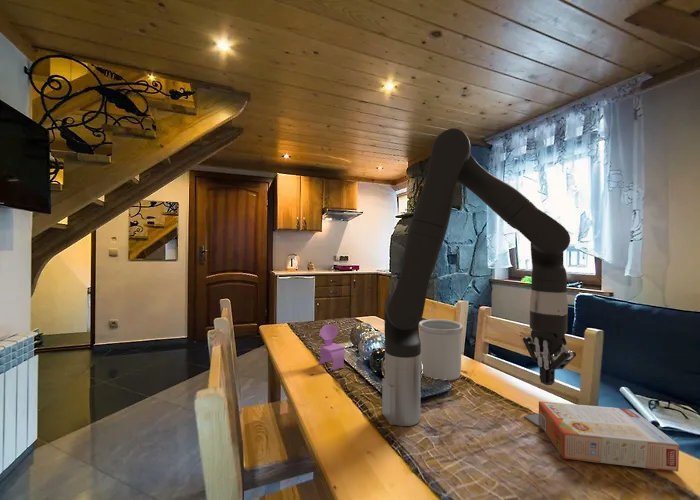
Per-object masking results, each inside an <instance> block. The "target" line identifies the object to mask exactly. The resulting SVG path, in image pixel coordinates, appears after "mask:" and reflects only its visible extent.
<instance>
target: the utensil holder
mask: <svg viewBox="0 0 700 500" xmlns="http://www.w3.org/2000/svg"><path fill="white" fill-rule="evenodd" d="M463 328H464V326H463V324H462V323H461V322H458V321H455V320H454V321H453V320H451V319H450V320H449V319H442V318H441V319H440V318H431V319H423V320H420V322H419V336H420V342H421V361H422V364H423V374H424V375H423V374H422V375H423V376H425V377H427V376H428V377H427V378H429V377H432V378H438V379H447V380H448V381H454V380H457V379H458V378H460V377H461V372H462V370H461V369H462V345H463V344H462V341H463V339H462V338H463V336H462V335H463V333H462V332H463V330H464V329H463ZM432 378H431V379H432Z"/></svg>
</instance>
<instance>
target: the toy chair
mask: <svg viewBox="0 0 700 500" xmlns="http://www.w3.org/2000/svg"><path fill="white" fill-rule="evenodd" d="M338 332H339V329H338V326H336V325H333V324H331V323H330V324H325V325H323V326H322V328H321V329H320V331H319V333H318V334H319V337H320V338H321V339H322V340H324V345H320V348H319V351H320V359H319V361H318V364H317V365H323V364H326V363H325V362H327V363H329V361H330V362H332V366H331V368H330V372H333V371H336V370H339V368H340V369H343V368H345V363H344V362H345V361H344V358H345V353H346V350H345V346H342V345H339V344H338V343H336V342H333V340H334V339H336V338H337V336H338ZM332 370H333V371H332Z"/></svg>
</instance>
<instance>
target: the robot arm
mask: <svg viewBox="0 0 700 500" xmlns="http://www.w3.org/2000/svg"><path fill="white" fill-rule="evenodd" d="M457 182H458V183H459V184H461V185H463V186H464V187H465V188H466V189H468V190H470V192H472V193H473V194H474V195H475V196H477V197H478V198H479V199H480V200H481V201H482V202H483V203H484V204H486V206H488V208H490V209H491V210H492V211H493V212H494V213H495V214H496V215H497V216H498V217H500V218H501V219H502V220H503V221H504V222H505V223H506V224H508V226H510V227H511V228H513V229H515V230H517V231H518V232H519V233H521V235H523V236H524V237H525V238H526V239H527V241H529V242H530V255H531V256H530V257H531V267H532V268H531V269H532V270H531V283H530V284H531V287H530V288H531V289H530V297H529V328H530V329H531V331H530V335H529V336H526V337H522V342H523V343H524V345H525V348H526V350H527V352H528V354H529V356H530V358H531V360H532V362H534V363H535V362H536V363H537V365H538V367H539V380H540V383H542V384H543V385H545V386H552V385H553V384H555V378H556V377H555V376H556V375H555V374H556V372H555V371H556V370H564V368H565V367H566V366H568V364H570V363H571V362H572V360H574V359H575V357H577V353H576V351H573V350H570V349H569V347H568V346H567V340H566V337H565V335H566V333H567V332H568V313H569V312H568V310H569V309H568V308H569V306H568V305H569V304H568V303H569V302H568V293H567V291H568V290H567V289H568V285H567V283H568V282H567V281H568V277H567V270H566V268H565V266H564V252H565V251H566V250H567V249H568V248H569V246H570V243H571V236H570V234H569V231H568V229H566V228H565V226H563V225H562V224H561V223H560V222H558V220H556V219H554V218H553V217H551V216H550V215H549V214H547V213H546V212H544V211H542V210H541V209H539V208H538V207H537V206H536V205H535V204H534V203H533V202H532V201H530V200H529V199H528V198H527V196H525V195H524V194H523V193H522V192H520V191H519V190H518V189H516V188H515V187H514V186H512V185H510V184H509V183H507V182H506V181H504V180H502V179H501V178H498V177H496V176H495V175H494V174H492V173H490V172H488V170H487V169H485V168H484V167H483V166H481V165H480V164H479V163H478V161H477V160H476V159H475V158H474V157H473V155H472V154H471V142H470V139H469V137H468V135H467V134H466V133H465V132H464V131H463V130H461V129H460V128H456V127H455V128H448V129H445V130H444V131H442V132H441V133H439V134H438V135H437V137H435V140H434V141H433V144H432V147H431V153H430V157H429V165H428V169H427V174H426V179H425V182H424V184H423V187H422V190H421V192H420V195H419V198H418V200H417V203H416V205H415V208H414V211H413V215H412V218H411V221H410V223H409V227H408V230H407V234H406V239H405V245H404V251H403V260H402V268H401V272H400V275H399V279H398V281H397V284H396V286H395V289H394V290H393V291H392V292H390V293H389V294H388V295H387V297H386V299H385V301H384V319H383V320H384V321H383V322H384V350H385V351H384V365H385V366H384V377H383V378H382V379H381V380H382V381H381V382H382V383H381V386H382V387H381V389H382V390H381V391H382V392H381V393H382V395H381V397H382V399H381V401H382V403H381V405H382V406H381V408H382V409H381V410H382V411H381V413H382V415H383V417H384V418H385V419H386V421H387V422H388V424H389V425H390V426H393V425H395V426H400V427H412V426H414V425H415V426H416V425H417V424H418V423H420V421H421V411H422V409H421V398H422V397H421V396H422V395H421V392H422V391H421V389H422V388H421V375H422V372H421V342H420V328H419V322H420V321H422V318H423V315H424V311H425V305H426V299H427V294H428V288H429V285H430V281H431V279H432V274H433V271H434V269H435V266H436V264H437V262H438V259H439V255H440V252H441V250H442V247H443V243H444V242H445V241H444V240H445V237H446V235H447V231H448V227H449V223H450V219H451V212H452V207H453V200H454V193H455V187H456V185H457Z"/></svg>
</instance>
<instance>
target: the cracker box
mask: <svg viewBox="0 0 700 500" xmlns="http://www.w3.org/2000/svg"><path fill="white" fill-rule="evenodd" d="M538 414H539V424H540V425H541V427H542V428H543V432H545V434H546V435H547V436H548V438H549V439H550V441H551V442H552V444H553V445H554V447H555V448H556V449H557V451H558V452H559V455H561V457H562V458H563V459H567V460H574V461H583V462H590V463H598V464H599V463H601V464H608V465H617V466H625V467H634V468H642V469H643V468H644V469H653V470H661V471H669V472H678V473H679V466H680V465H679V461H680V458H679V457H680V444H679V443H677V442H676V441H675V440H674V439H672V438H671V437H670V436H668V435H667V434H666V433H664V432H663V431H662V430H660V429H659V428H658V427H656V426H655V425H654V424H652V423H651V422H650V421H649V420H647V419H646V418H645V417H643V416H642V415H641V414H640V413H638V412H637V411H636V410H634V409H633V408H623V407H610V406H597V405H587V404H586V405H585V404H575V403H564V402H551V401H541V400H540V401H538Z"/></svg>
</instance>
